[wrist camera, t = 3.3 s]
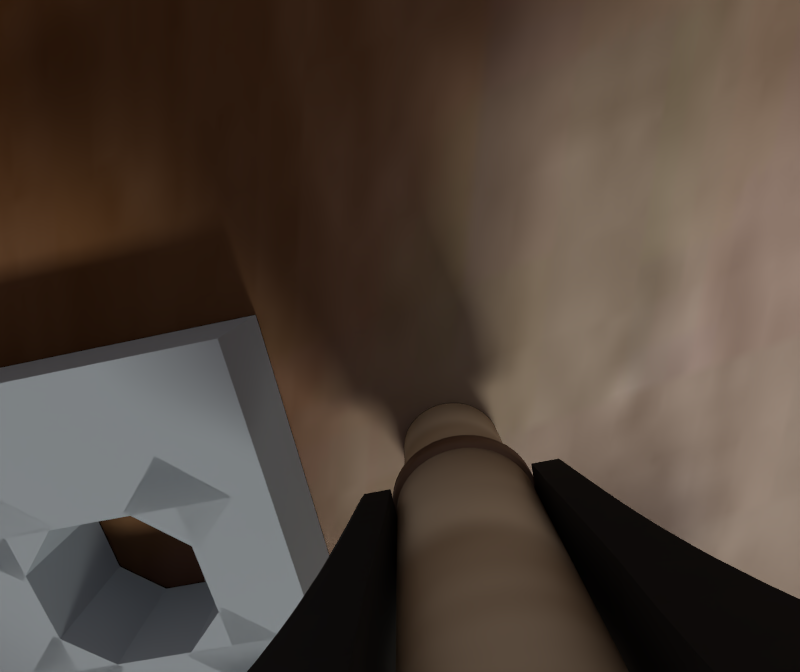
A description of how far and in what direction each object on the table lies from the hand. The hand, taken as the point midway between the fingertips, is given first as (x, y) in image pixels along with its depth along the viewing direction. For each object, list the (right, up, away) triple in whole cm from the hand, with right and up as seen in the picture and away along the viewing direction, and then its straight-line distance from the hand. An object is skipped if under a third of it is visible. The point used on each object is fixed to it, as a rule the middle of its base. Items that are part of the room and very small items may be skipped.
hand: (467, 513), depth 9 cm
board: (-9, -2, +4) cm, 10 cm away
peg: (0, +1, +3) cm, 3 cm away
